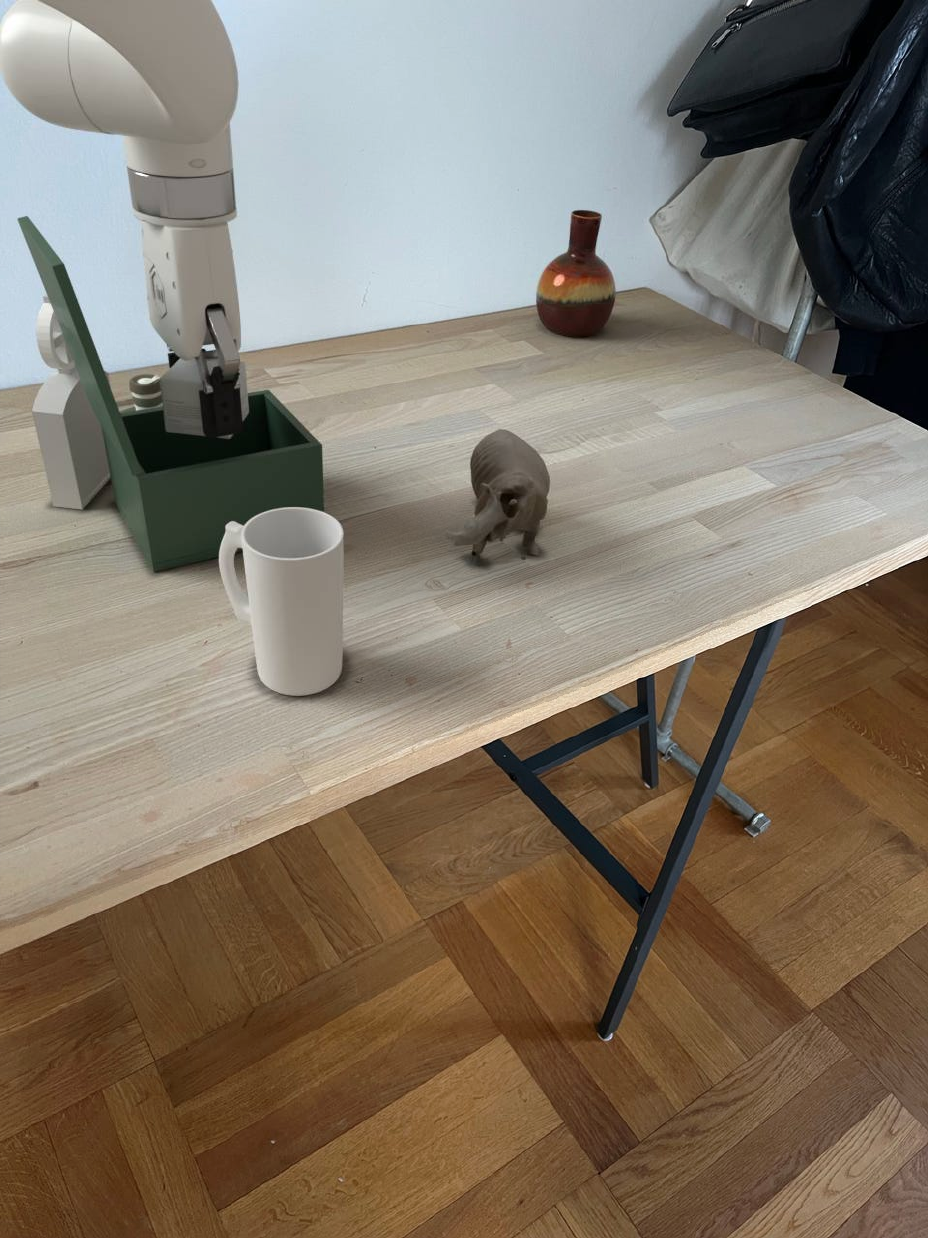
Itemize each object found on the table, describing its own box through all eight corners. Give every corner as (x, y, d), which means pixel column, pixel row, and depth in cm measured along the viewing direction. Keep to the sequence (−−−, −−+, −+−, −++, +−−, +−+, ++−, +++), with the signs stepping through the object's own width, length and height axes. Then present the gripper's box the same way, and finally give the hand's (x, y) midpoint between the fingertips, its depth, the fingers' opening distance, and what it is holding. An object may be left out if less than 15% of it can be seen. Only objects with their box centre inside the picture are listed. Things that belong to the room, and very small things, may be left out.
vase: (560, 345, 127) (575, 227, 118) (518, 318, 134) (529, 205, 125) (625, 336, 131) (644, 221, 122) (580, 311, 139) (596, 201, 130)
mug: (363, 660, 70) (363, 525, 63) (311, 711, 66) (304, 571, 58) (257, 617, 74) (246, 484, 67) (200, 662, 69) (181, 524, 62)
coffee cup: (74, 415, 100) (65, 371, 97) (177, 390, 107) (171, 349, 104) (123, 457, 93) (115, 412, 91) (229, 429, 100) (225, 385, 97)
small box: (250, 413, 82) (246, 359, 79) (230, 441, 77) (225, 385, 74) (187, 406, 82) (181, 352, 79) (164, 434, 78) (156, 378, 75)
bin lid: (27, 215, 70) (16, 217, 70) (63, 263, 62) (51, 266, 61) (102, 409, 81) (93, 412, 81) (142, 472, 73) (132, 476, 72)
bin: (274, 471, 93) (268, 389, 88) (325, 532, 85) (322, 444, 80) (115, 503, 86) (99, 416, 81) (153, 572, 78) (138, 479, 73)
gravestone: (123, 462, 93) (92, 279, 82) (82, 509, 85) (41, 315, 74) (97, 459, 93) (62, 276, 82) (53, 506, 85) (8, 311, 74)
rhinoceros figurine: (560, 472, 92) (555, 389, 77) (546, 603, 87) (538, 540, 73) (482, 468, 93) (463, 385, 79) (465, 596, 89) (442, 533, 75)
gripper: (102, 170, 73) (135, 382, 83) (167, 227, 61) (196, 466, 72) (196, 166, 76) (216, 371, 87) (275, 219, 65) (287, 449, 75)
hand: (207, 413), depth 79 cm, fingers closed on small box, 7 cm apart
